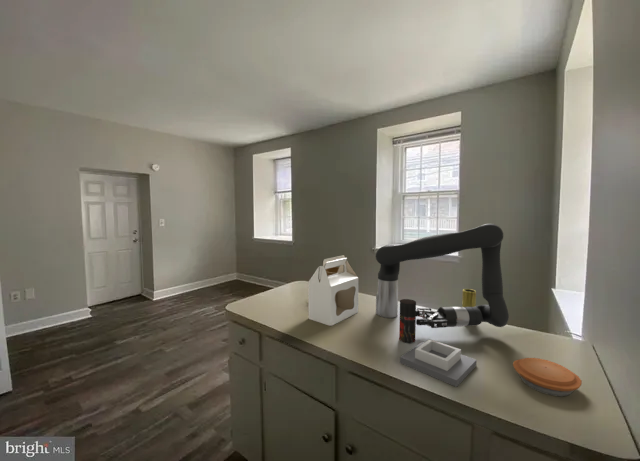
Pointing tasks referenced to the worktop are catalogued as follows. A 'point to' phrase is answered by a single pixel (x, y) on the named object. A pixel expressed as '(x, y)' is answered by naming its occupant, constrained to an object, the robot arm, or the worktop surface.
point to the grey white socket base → (439, 361)
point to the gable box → (333, 292)
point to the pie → (547, 376)
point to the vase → (469, 298)
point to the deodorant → (407, 320)
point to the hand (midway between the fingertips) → (412, 317)
